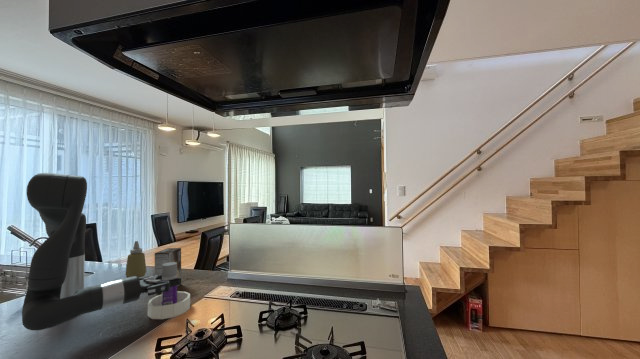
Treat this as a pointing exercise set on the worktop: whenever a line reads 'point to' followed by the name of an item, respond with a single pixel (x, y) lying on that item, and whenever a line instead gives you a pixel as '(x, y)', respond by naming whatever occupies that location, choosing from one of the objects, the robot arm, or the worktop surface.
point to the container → (168, 274)
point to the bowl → (168, 306)
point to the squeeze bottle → (136, 262)
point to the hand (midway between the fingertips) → (175, 278)
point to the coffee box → (168, 260)
